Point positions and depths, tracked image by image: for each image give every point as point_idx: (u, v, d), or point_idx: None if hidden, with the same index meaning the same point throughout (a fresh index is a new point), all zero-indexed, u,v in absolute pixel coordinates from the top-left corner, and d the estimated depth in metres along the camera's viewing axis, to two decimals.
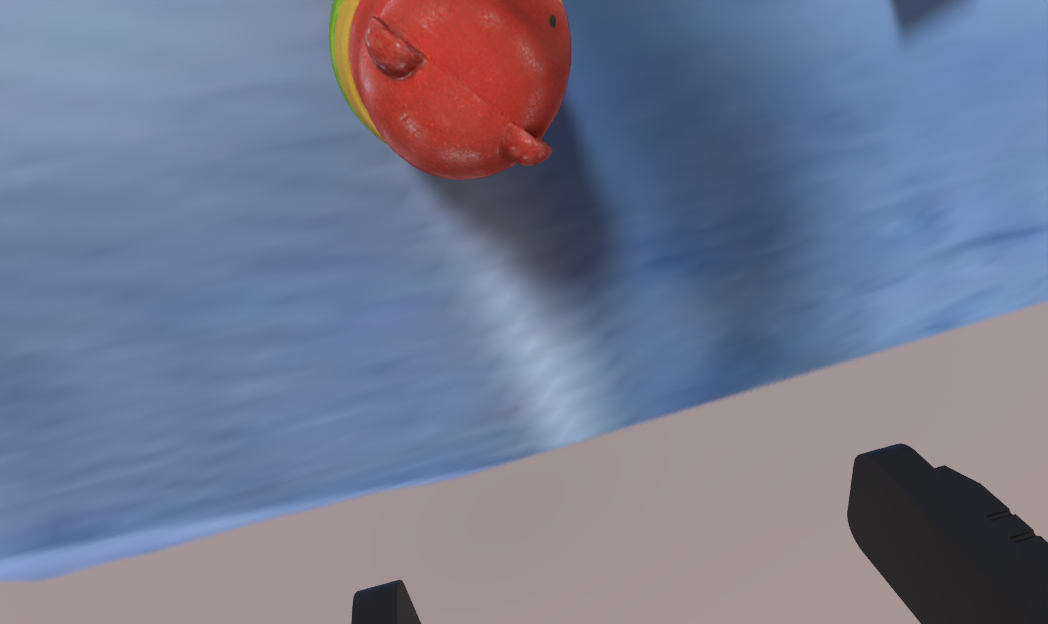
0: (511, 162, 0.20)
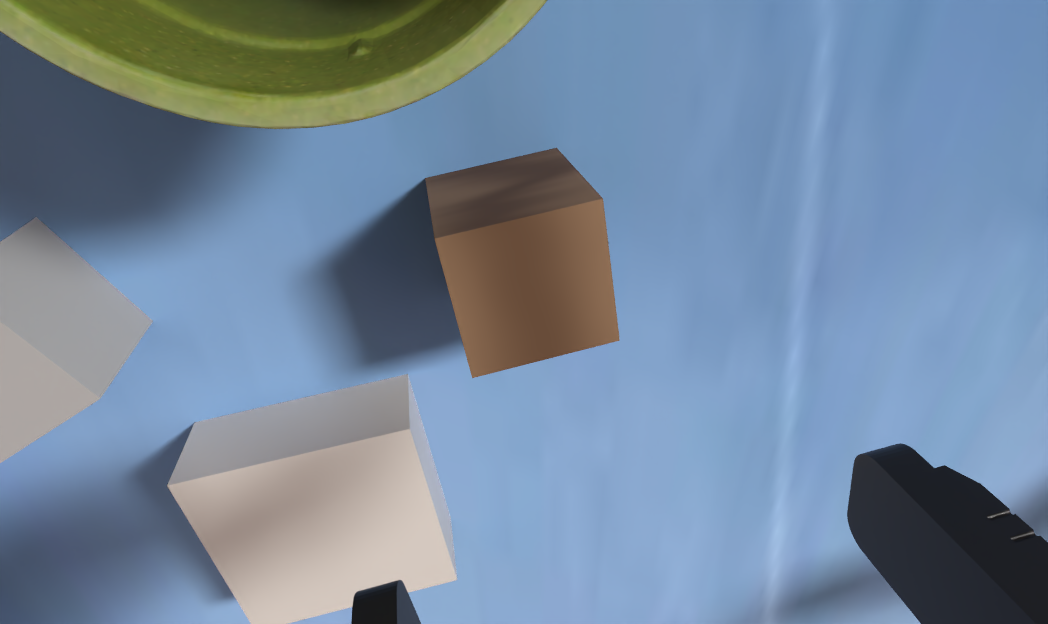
0: None
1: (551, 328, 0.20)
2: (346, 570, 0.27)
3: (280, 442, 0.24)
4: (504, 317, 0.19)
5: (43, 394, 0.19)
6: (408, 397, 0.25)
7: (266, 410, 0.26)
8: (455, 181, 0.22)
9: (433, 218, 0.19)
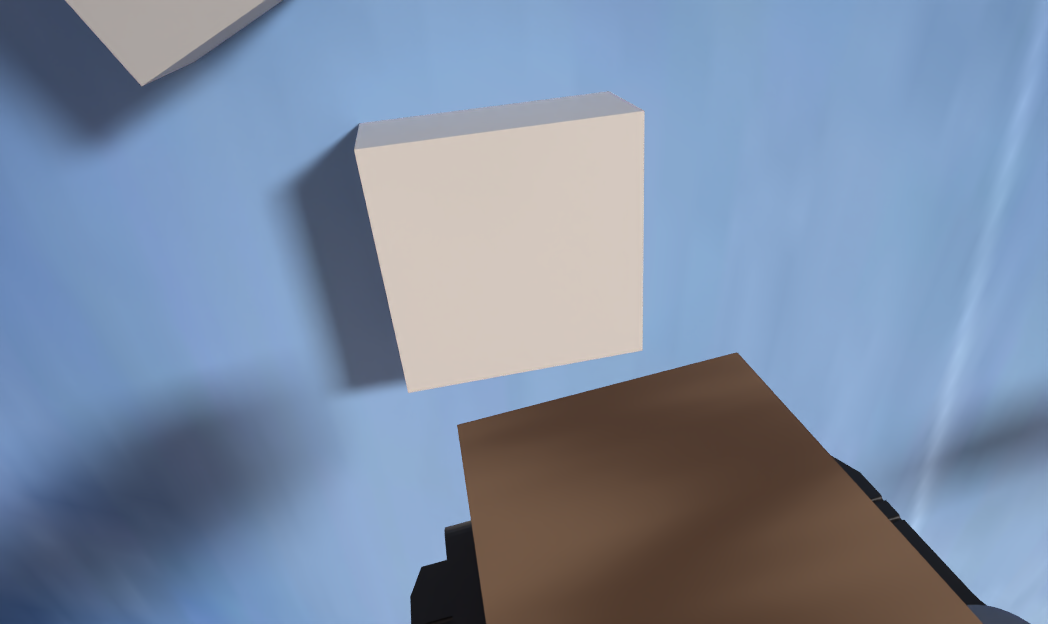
0: None
1: None
2: (526, 316, 0.22)
3: (482, 124, 0.20)
4: None
5: None
6: None
7: (446, 114, 0.22)
8: (530, 459, 0.09)
9: None
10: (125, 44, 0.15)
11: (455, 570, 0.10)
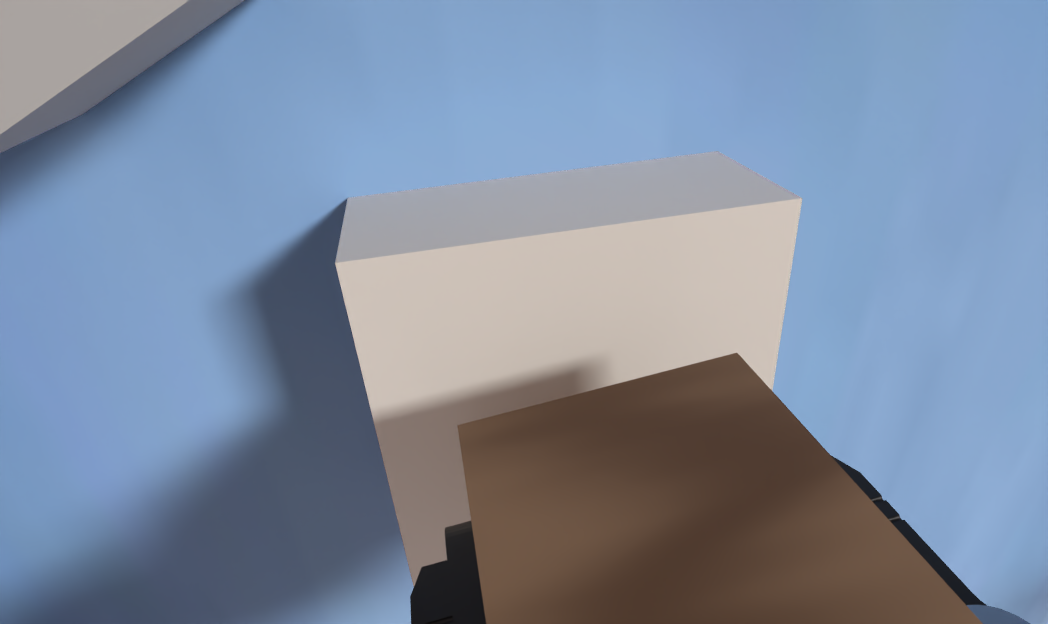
0: None
1: None
2: None
3: (542, 214, 0.12)
4: None
5: None
6: (749, 171, 0.14)
7: (480, 185, 0.14)
8: (530, 459, 0.09)
9: None
10: None
11: (455, 570, 0.10)
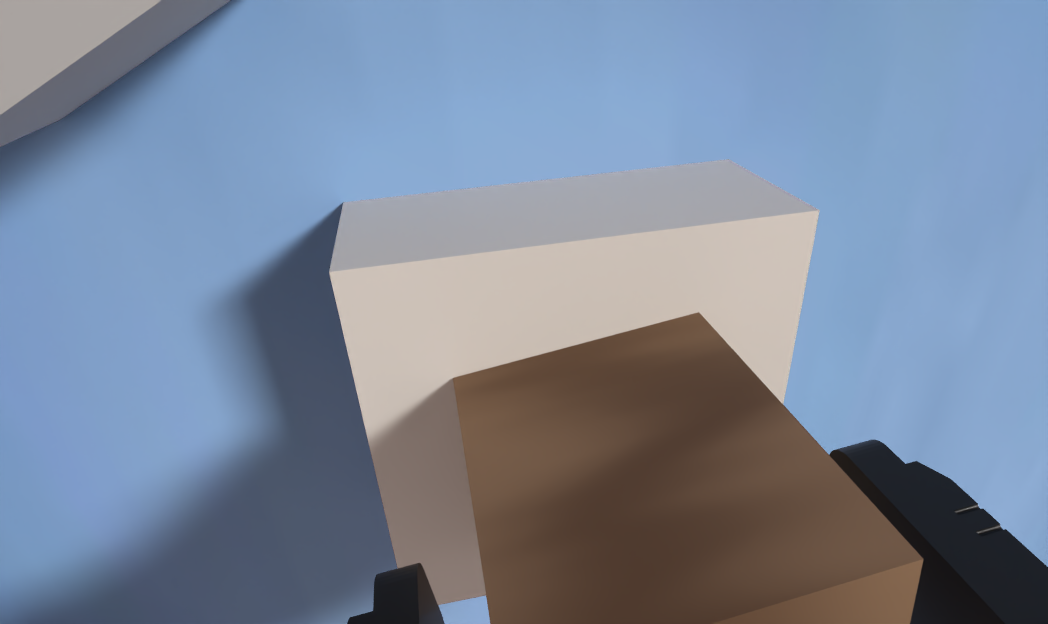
0: None
1: None
2: None
3: (547, 223, 0.12)
4: None
5: None
6: None
7: (482, 191, 0.14)
8: (515, 402, 0.11)
9: (486, 564, 0.08)
10: None
11: None
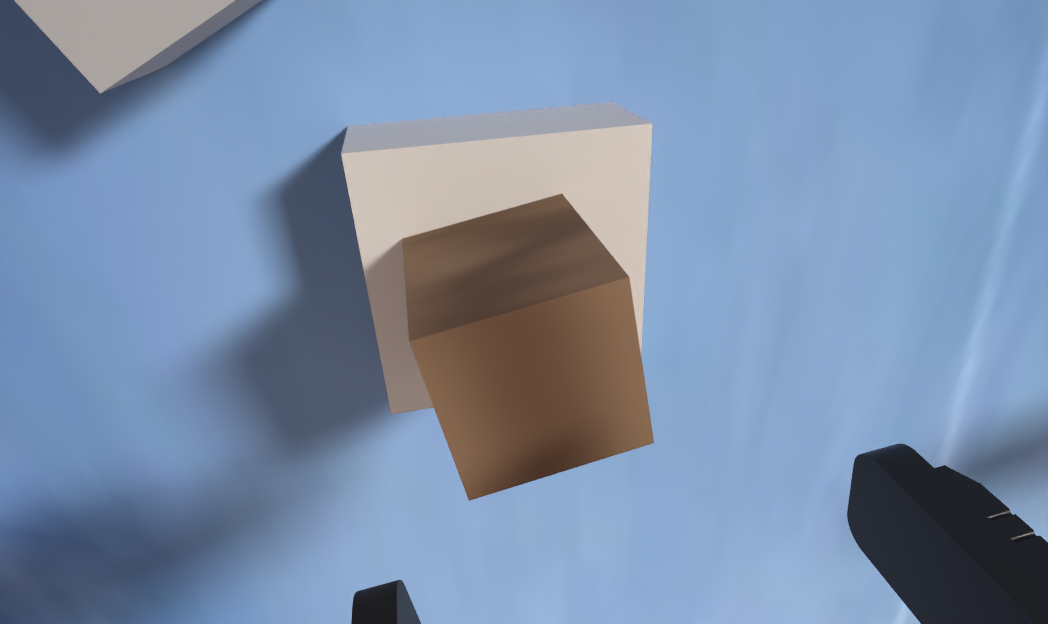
0: None
1: (567, 436, 0.16)
2: None
3: (480, 132, 0.19)
4: (506, 427, 0.15)
5: None
6: None
7: (441, 119, 0.20)
8: (438, 245, 0.18)
9: (409, 305, 0.15)
10: (81, 47, 0.14)
11: None
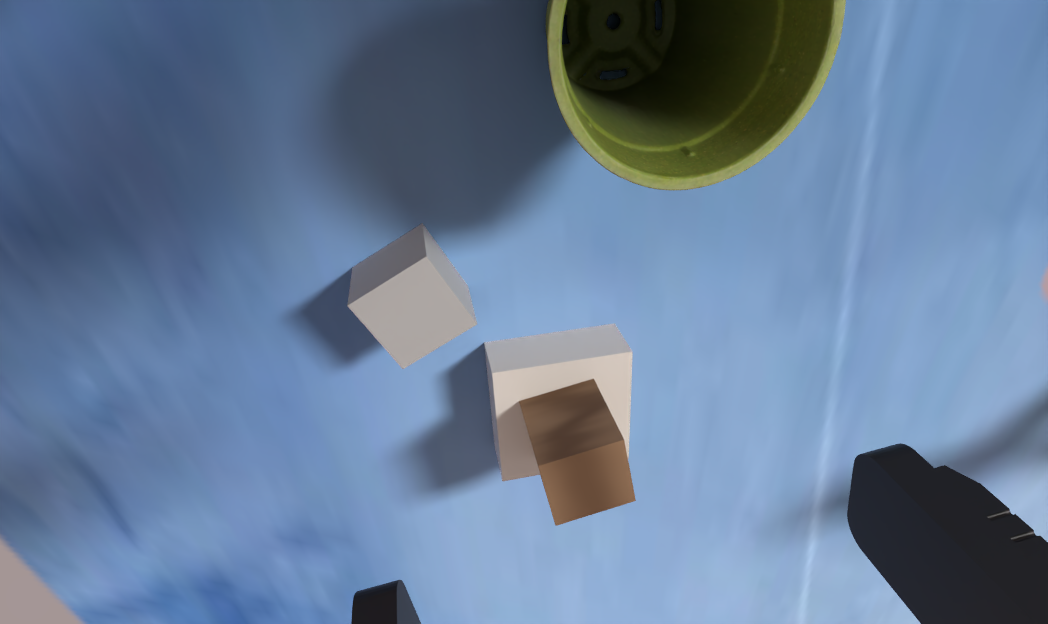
0: None
1: (598, 498, 0.37)
2: None
3: (551, 354, 0.40)
4: (573, 496, 0.36)
5: (450, 320, 0.34)
6: (621, 335, 0.41)
7: (529, 338, 0.41)
8: (538, 408, 0.39)
9: (533, 446, 0.36)
10: (399, 354, 0.35)
11: None
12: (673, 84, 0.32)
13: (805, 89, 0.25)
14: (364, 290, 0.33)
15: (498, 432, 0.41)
